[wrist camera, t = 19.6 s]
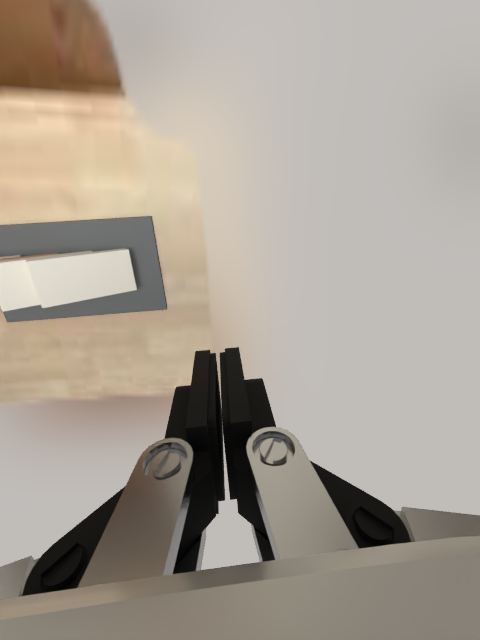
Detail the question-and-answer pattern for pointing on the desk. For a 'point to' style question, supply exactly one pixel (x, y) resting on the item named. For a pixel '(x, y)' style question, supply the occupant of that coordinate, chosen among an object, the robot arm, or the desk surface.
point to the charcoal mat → (95, 238)
